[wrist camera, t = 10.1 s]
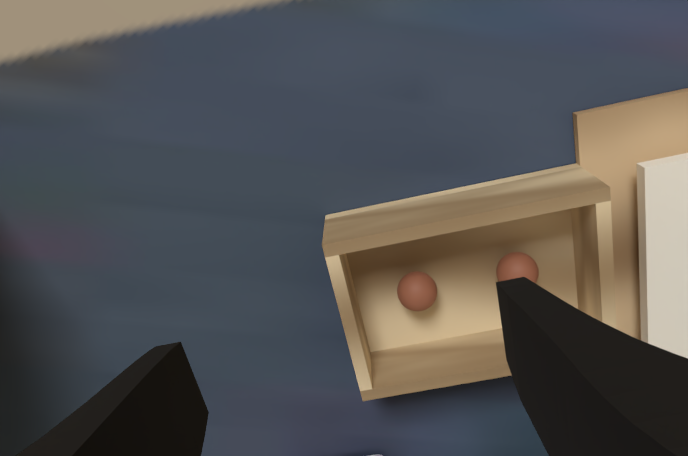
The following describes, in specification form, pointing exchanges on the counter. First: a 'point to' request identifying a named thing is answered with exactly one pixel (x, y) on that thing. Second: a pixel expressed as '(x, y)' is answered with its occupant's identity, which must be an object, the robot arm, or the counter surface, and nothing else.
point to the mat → (629, 175)
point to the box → (463, 273)
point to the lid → (664, 252)
